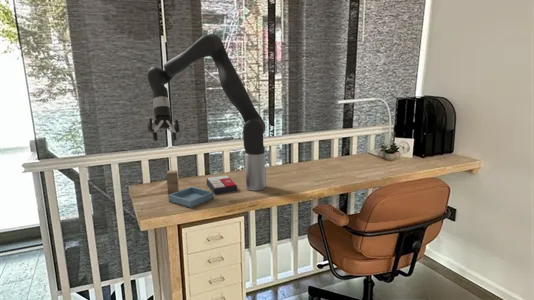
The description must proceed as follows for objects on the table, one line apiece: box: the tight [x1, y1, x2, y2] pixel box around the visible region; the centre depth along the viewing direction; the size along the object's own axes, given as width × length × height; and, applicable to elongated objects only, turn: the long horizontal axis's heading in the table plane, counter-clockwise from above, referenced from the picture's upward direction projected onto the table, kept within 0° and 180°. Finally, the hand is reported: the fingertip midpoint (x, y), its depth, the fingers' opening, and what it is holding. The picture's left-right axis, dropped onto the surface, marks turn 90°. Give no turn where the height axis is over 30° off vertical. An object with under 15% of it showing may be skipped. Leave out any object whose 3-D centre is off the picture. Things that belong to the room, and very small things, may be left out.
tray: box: [167, 186, 214, 208], centre depth 173 cm, size 14×14×3 cm
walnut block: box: [166, 169, 180, 195], centre depth 182 cm, size 4×4×10 cm
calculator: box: [206, 175, 238, 195], centre depth 189 cm, size 11×4×15 cm
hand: (165, 141), depth 182 cm, fingers open, 8 cm apart
